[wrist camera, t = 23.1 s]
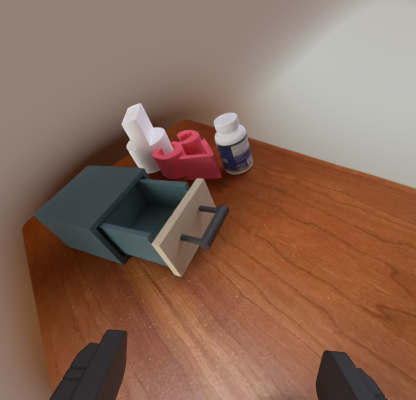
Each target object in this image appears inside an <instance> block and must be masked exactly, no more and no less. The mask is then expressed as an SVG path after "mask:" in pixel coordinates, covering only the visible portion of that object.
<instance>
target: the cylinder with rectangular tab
mask: <svg viewBox="0 0 416 400" xmlns="http://www.w3.org/2000/svg"><path fill="white" fill-rule="evenodd" d="M122 126H123V128H124V129H125V131H126V133H127V135H128V136H129V138H130V141H129V142H128V144H127V149H128V151H129V152H130V154H131V156H132V157H133V159H134V161H135V162H136V164H137V166H138V167H139V168H144V169H145V171H146V172H147V174H148V173H154V172H158V171H160V168H159V166H158V165H157V163H156V161H155V159H154V157H153V155H152V153H153V151H155V150H156V149H159V148H162V150H163V152H164V154H165V155H167V154H169V153H170V152H172V151H173V147H172V145H171V143H170V141H169V139H168V136H167V134H166V132H165V130H164V129H163V128H153V126H152V125H151V122H150V120H149V119H148V117H147V115H146V112H145V110H144V108H143V106H142V104H141V103H139V104H136V105H134V106H131V107H129V108H128V110H127V112H126V114H125V117H124V119H123V122H122Z"/></svg>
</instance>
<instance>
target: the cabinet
mask: <svg viewBox="0 0 416 400" xmlns="http://www.w3.org/2000/svg"><path fill="white" fill-rule="evenodd" d="M140 179H150V177H149V176H148V174H147V172H146V171H145V169H144V168H131V167H108V166H107V167H106V166H87V167H86V168H85V169H84V170H83V171H82V172H80V173H79V174H78V175H77V176H76V177H75V178H74V179H73V180H72V181H70V182H69V183H68V184H67V185H66V186H65V187H64V188H63V189H62V190H61V191H59V192H58V193H57V194H56V195H55V196H54V197H53V198H51V199H50V200H49V201H48V202H47V203H46V204H45V205H44V206H43V207H41V208H40V209H39V210H38V211H37V212H36V213H35V214H34V216H35V217H36V218H37V219H38V220H39V221H41V222H42V223H43V224H44V225H45V226H46V227H47V228H48V229H50V230H51V231H52V232H53V233H54V234H55V235H56V236H57V237H59V238H60V239H61V240H62V241H63V242H64V243H65V244H66V245H68V246H69V247H72V248H75V249H78V250H81V251H84V252H87V253H90V254H92V255H95V256H98V257H101V258H104V259H107V260H110V261H113V262H116V263H119V264H122V265H123V264H124V263H125V262H126V260H127V259H128V258H129V256H130V255H128V254H125V253H122V252H119V251H117V250H116V249H115V248H114V247H113V246H112V245H111V244H110V243H109V242H108V241H107V240H106V238H105V237H104V236H103V235H102V234H101V233H100V232H99V231H98V230H97V229H96V228H97V227H98V226H99V225H100V224H101V222H102V221H103V220H104V219H105V218H106V217H107V216H108V215H109V213H110V212H111V211H112V210H113V209H114V208H115V207H116V205H117V204H118V203H119V202H120V201H121V200H122V199H123V198H124V196H125V195H126V194H127V193H128V192H129V191H130V190H131V189H132V187H133V186H134V185H135V184H136V183H137V182H138V181H139V180H140Z"/></svg>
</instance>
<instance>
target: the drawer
mask: <svg viewBox="0 0 416 400" xmlns="http://www.w3.org/2000/svg"><path fill="white" fill-rule="evenodd" d="M228 212H229V209H228V208H227V207H226V206H224V205H220V206H219V207H218V208H216V207H215V204H214V202H213V199H212V197H211V195H210V192H209V190H208V188H207V185H206V183H205V180H204V179H199V178H197V179H196V180H195V182H194V183H193V185H192V186H191V188H190V187H189V185H188V183H187V182H178V181H164V180H151V179H140V180H139V181H138V182H137V183H136V184H135V185H134V186H133V187H132V189H131V190H130V191H129V192H128V193H127V194H126V195H125V196H124V198H123V199H122V200H121V201H120V202H119V203H118V204H117V205H116V207H115V208H114V209H113V210H112V211H111V212H110V213H109V215H108V216H107V217H106V218H105V219H104V220H103V221H102V222H101V224H100V225H99V226H98V227H97V228H96V229H97V230H98V231H99V232H100V233H101V234H102V235H103V236H104V237H105V238H106V240H107V241H108V242H109V243H110V244H111V245H112V246H113V247H114V248H115V249H116V250H117V251H119V252H122V253H125V254H128V255H132V256H135V257H138V258H142V259H145V260H148V261H152V262H155V263H158V264H161V265H165V266H168V267H169V268H170V269H171V271H172V272H173V273H174V275H176V276H179V277H182V276H183V274H184V273H185V271H186V269H187V267H188V265H189V264H190V262H191V260H192V258H193V256H194V254H195V253H196V251H197V249H198V247H199V246H200V247H202V248H203V249H207V250H208V249H209V248H210V246H211V244H212V243H213V241H214V239H215V237H216V235H217V233H218V231H219V229H220V227H221V225H222V223H223V221H224V219H225V218H226V216H227V214H228Z"/></svg>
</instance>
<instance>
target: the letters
mask: <svg viewBox="0 0 416 400" xmlns="http://www.w3.org/2000/svg"><path fill="white" fill-rule="evenodd" d="M177 137H178V139H179V141H180V142H175V141H173V142H172V143H171V145H172V147H173V151H172V152H170V153H169V154H167V155H165V154H164V152H163V150H162V148H159V149H156V150H155V151H153V153H152V155H153V157H154V159H155V161H156V163H157V165H158V166H159V168H160V170H161V172H162V174H163V175H164V176H165V177H166V178H169V179H179V178H182V177H184V176H186V177H187V180H196V179H197V178H199V179H216V178H221V177H222V175H221V172H220V169H219V166H218V164H217V161H216V158H215V155H214V153H213V151H212V150H211V148H210V147H209V145H208V143H207V142H206V140H205V139H203V140H202V141H201V138H200V135H199V133H198V132H197V131H193V130H185V131H182V132H180V133H178V134H177Z"/></svg>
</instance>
